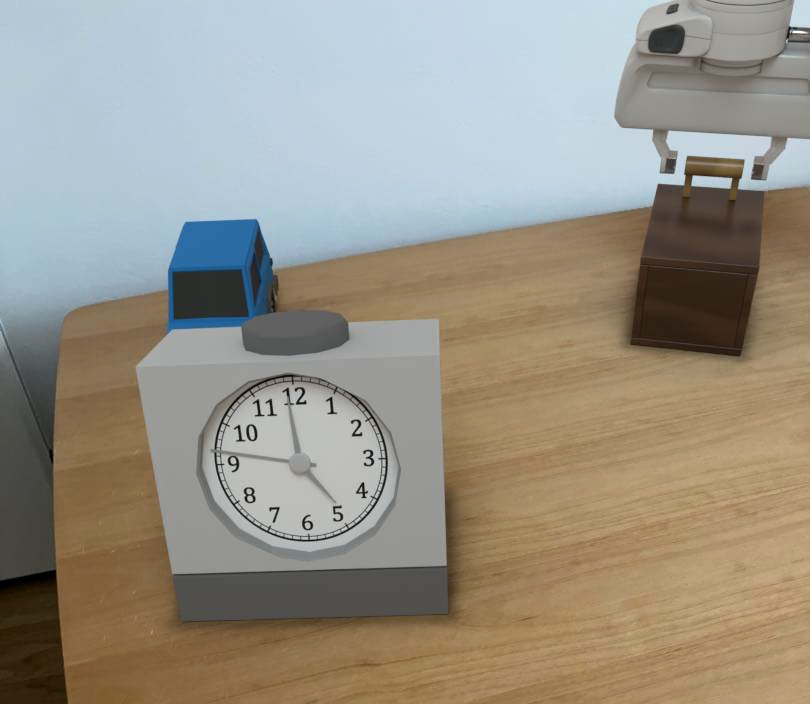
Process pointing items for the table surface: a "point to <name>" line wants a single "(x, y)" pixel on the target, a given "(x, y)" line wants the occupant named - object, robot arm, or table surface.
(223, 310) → the toy car
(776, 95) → the robot arm
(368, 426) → the alarm clock
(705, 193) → the lid
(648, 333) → the chest
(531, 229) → the table surface
